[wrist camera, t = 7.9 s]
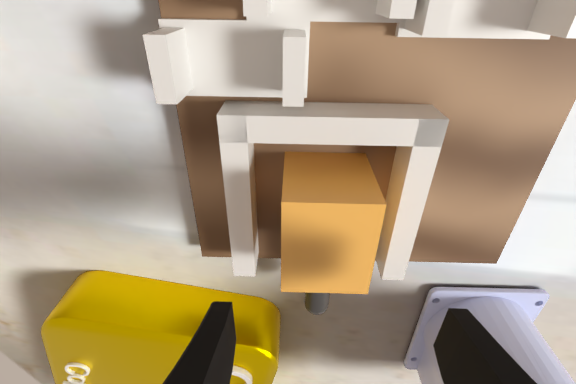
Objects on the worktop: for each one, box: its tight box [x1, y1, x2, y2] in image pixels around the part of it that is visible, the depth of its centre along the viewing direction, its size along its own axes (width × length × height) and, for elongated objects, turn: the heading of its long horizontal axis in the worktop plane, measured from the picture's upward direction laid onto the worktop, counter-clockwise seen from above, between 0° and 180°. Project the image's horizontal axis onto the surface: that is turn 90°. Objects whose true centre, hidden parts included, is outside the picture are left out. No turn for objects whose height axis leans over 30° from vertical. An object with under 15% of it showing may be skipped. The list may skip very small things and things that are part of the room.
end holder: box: [216, 101, 449, 280], centre depth 16 cm, size 9×9×2 cm
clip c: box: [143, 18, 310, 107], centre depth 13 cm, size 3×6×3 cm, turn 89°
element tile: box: [41, 270, 281, 384], centre depth 25 cm, size 15×15×5 cm
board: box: [158, 0, 576, 263], centre depth 16 cm, size 16×18×1 cm
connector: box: [281, 152, 387, 315], centre depth 17 cm, size 9×4×4 cm, turn 179°
